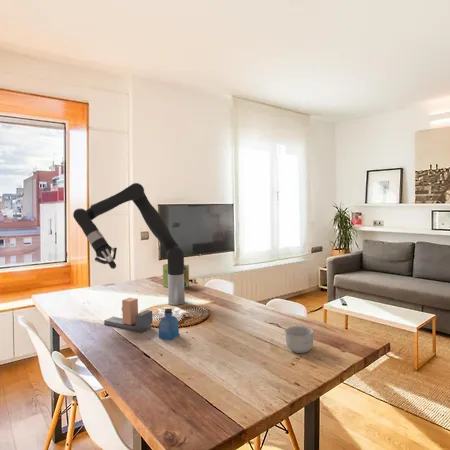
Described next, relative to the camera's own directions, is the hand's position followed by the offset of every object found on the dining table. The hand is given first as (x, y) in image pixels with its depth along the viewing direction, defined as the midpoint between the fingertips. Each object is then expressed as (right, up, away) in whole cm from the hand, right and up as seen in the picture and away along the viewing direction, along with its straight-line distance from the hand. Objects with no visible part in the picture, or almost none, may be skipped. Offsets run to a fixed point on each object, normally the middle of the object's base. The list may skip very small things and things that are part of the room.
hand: (114, 267), depth 180 cm
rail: (+11, -26, -16) cm, 32 cm away
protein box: (+24, -21, +60) cm, 68 cm away
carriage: (+13, -24, -17) cm, 32 cm away
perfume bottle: (+33, -27, -29) cm, 52 cm away
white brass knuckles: (+31, -25, -3) cm, 40 cm away
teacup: (+88, -27, -43) cm, 101 cm away
